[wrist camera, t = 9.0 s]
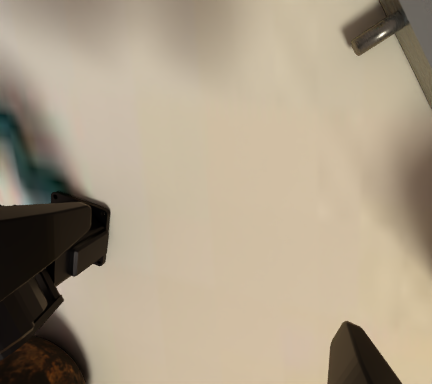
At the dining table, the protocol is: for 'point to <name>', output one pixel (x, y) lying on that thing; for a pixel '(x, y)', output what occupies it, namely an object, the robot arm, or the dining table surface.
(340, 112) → the dining table surface
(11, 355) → the brown vase
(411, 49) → the vise
